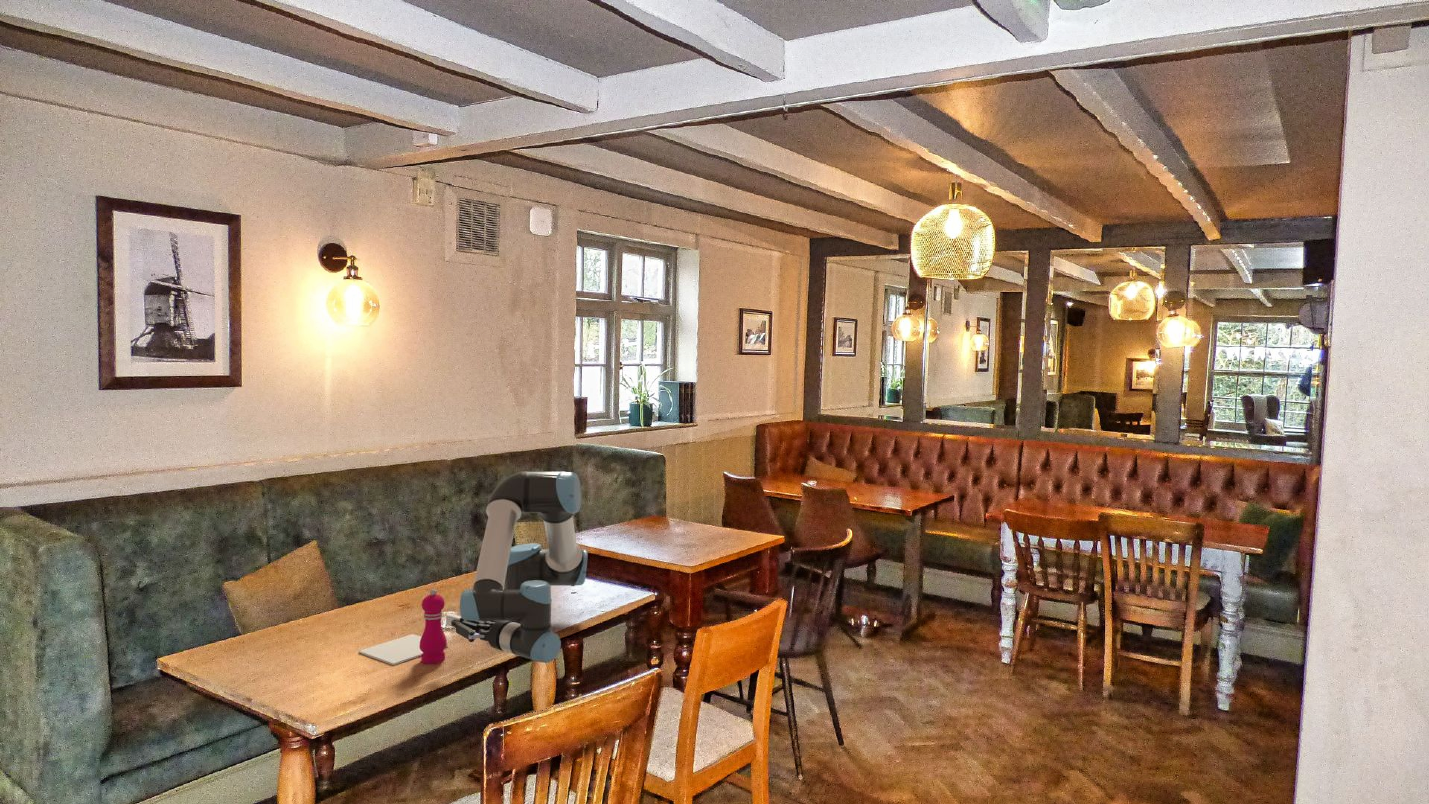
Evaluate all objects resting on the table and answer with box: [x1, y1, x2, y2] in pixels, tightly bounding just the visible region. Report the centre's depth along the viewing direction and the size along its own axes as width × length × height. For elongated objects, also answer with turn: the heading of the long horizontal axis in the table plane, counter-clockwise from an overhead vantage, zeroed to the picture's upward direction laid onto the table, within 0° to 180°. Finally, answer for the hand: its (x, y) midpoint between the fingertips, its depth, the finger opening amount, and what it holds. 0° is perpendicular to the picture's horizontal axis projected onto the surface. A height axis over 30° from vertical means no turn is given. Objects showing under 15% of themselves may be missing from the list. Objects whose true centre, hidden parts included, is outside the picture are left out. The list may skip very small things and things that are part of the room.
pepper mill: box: [419, 588, 448, 665], centre depth 237 cm, size 7×7×20 cm
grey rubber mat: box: [358, 633, 448, 666], centre depth 244 cm, size 16×18×1 cm
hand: (448, 619), depth 233 cm, fingers closed
